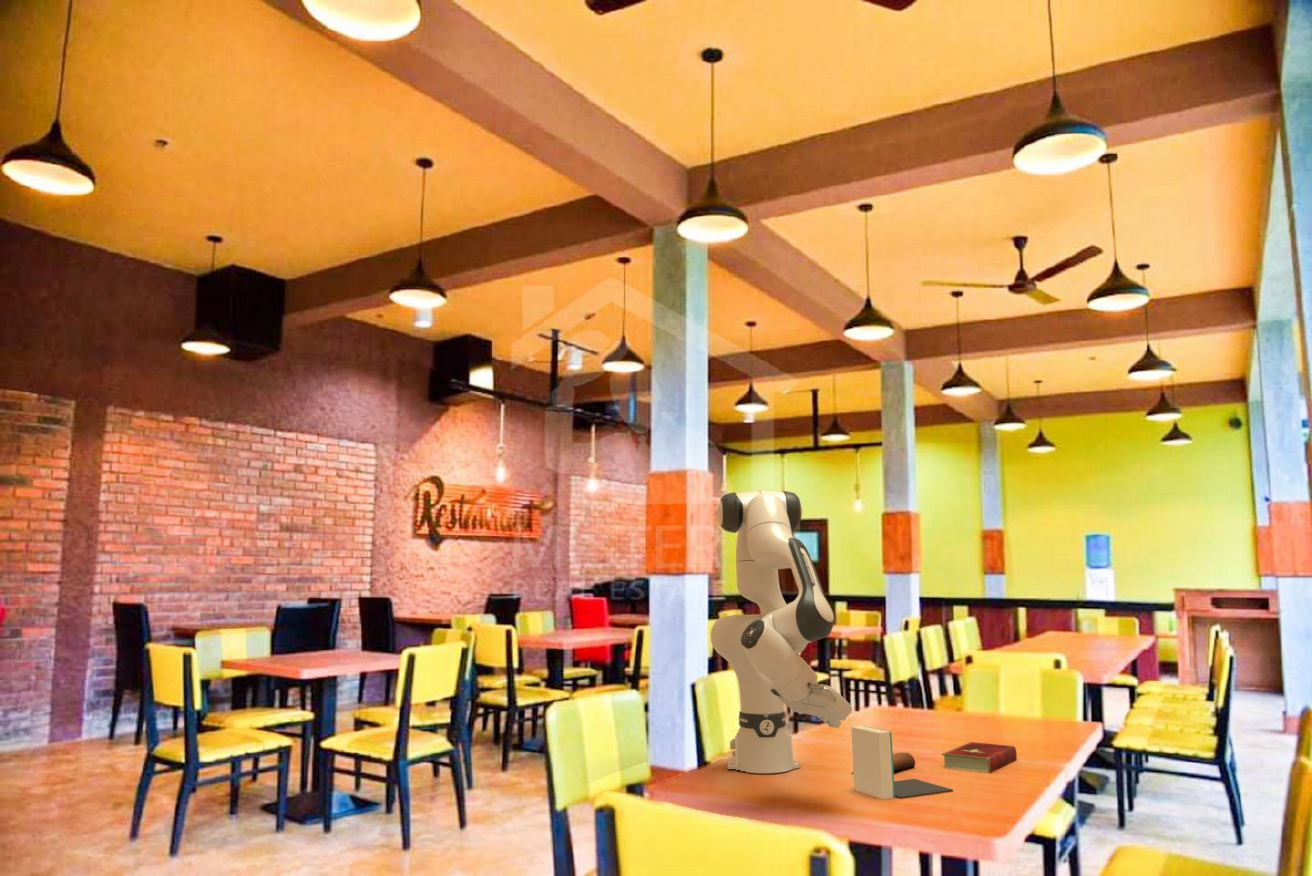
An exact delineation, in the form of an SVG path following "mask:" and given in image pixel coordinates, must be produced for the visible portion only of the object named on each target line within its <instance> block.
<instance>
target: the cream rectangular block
mask: <svg viewBox="0 0 1312 876" xmlns="http://www.w3.org/2000/svg"><path fill="white" fill-rule="evenodd" d="M850 728H851V745H852V746H851V747H852V748H851V749H852V767H853V768H852V769H853V770H852V772H853V773H854V775H853V787H854V789H853V790H854V791H855V790H856V792H857V793H861V794H863V795H868V796H870V797H874V798H876V799H880V800H889V799H895V798H896V797H895V788H894V781H895V774H894V773H895V771H894V769H893V753H894V751H893V736H892V731H890V730H884V729H879V728H875V727H870V726H865V725H859V726H858V725H857V726H851V727H850Z"/></svg>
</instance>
